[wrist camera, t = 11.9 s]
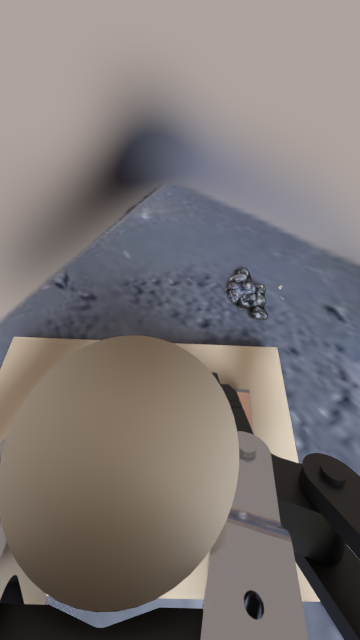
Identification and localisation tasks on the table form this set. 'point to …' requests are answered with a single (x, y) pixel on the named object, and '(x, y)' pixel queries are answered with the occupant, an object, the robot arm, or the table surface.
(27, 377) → the board
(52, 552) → the block
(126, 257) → the table surface
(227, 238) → the table surface
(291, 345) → the table surface
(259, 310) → the gravel pile
